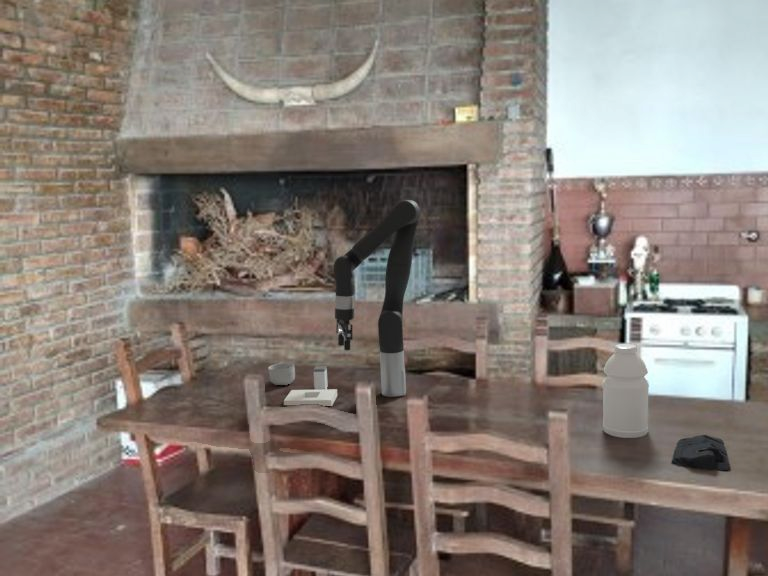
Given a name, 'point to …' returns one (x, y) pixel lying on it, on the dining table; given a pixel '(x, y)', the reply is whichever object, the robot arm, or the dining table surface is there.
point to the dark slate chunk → (701, 453)
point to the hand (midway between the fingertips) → (344, 347)
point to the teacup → (282, 373)
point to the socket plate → (311, 397)
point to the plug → (320, 377)
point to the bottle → (625, 394)
